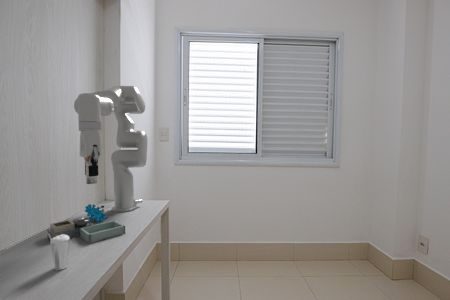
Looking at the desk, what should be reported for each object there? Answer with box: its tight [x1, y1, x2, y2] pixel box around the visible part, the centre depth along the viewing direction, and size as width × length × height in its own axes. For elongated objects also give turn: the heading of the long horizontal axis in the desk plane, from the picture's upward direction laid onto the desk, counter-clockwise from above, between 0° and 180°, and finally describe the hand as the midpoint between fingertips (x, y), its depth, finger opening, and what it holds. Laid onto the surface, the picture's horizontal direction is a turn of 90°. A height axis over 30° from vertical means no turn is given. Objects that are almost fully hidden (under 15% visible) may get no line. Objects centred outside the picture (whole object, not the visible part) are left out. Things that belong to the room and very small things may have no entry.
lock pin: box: [83, 157, 98, 185], centre depth 93 cm, size 4×4×10 cm
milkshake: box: [48, 233, 71, 271], centre depth 70 cm, size 4×5×10 cm
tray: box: [79, 219, 126, 244], centre depth 94 cm, size 13×10×3 cm
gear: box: [84, 203, 106, 223], centre depth 112 cm, size 11×6×10 cm
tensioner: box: [46, 217, 96, 241], centre depth 95 cm, size 14×8×6 cm, turn 137°
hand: (91, 175), depth 93 cm, fingers closed on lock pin, 3 cm apart
